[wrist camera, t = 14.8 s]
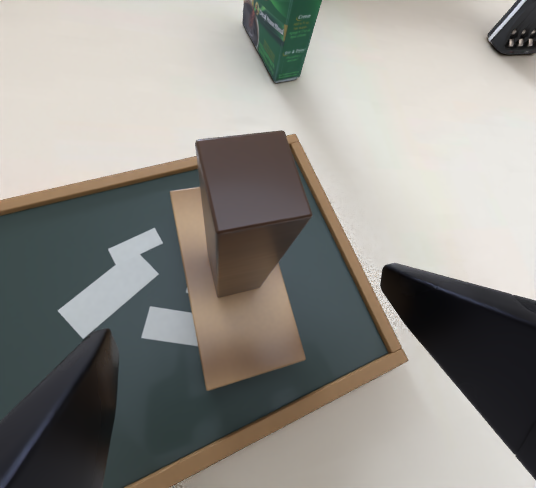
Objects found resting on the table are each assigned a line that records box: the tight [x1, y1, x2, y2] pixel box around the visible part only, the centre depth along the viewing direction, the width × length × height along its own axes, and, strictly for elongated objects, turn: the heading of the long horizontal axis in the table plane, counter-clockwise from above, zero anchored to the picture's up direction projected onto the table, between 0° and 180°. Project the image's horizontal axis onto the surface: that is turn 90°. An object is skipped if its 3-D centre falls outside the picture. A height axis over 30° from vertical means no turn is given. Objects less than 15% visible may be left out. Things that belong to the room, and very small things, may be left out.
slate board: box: [0, 134, 408, 488], centre depth 17 cm, size 28×18×1 cm, turn 112°
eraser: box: [170, 131, 312, 391], centre depth 13 cm, size 11×5×12 cm, turn 15°
